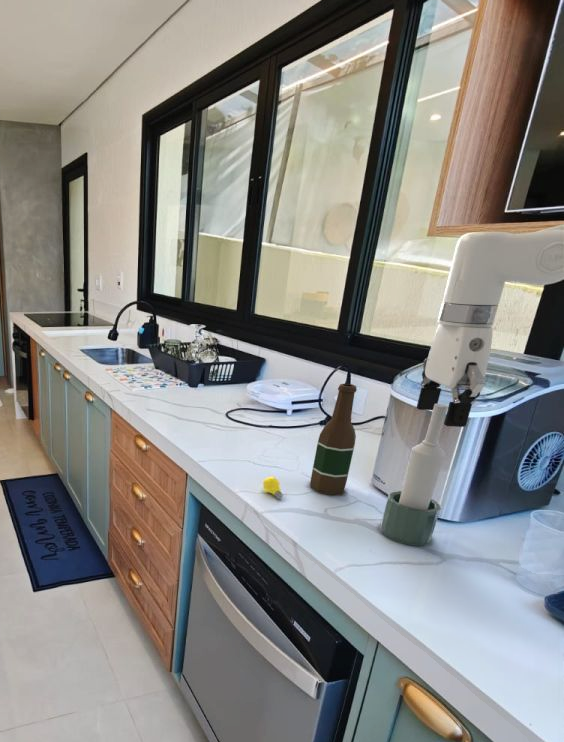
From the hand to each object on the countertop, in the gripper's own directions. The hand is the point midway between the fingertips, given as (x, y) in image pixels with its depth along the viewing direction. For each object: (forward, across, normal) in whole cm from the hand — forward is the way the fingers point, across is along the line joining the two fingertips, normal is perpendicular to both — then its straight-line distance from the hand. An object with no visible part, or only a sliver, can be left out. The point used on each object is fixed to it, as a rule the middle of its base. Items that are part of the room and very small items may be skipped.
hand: (439, 417), depth 87 cm
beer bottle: (+23, +19, +10) cm, 32 cm away
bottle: (+23, 0, 0) cm, 23 cm away
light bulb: (+23, +14, +23) cm, 35 cm away
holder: (+23, 0, +1) cm, 23 cm away
